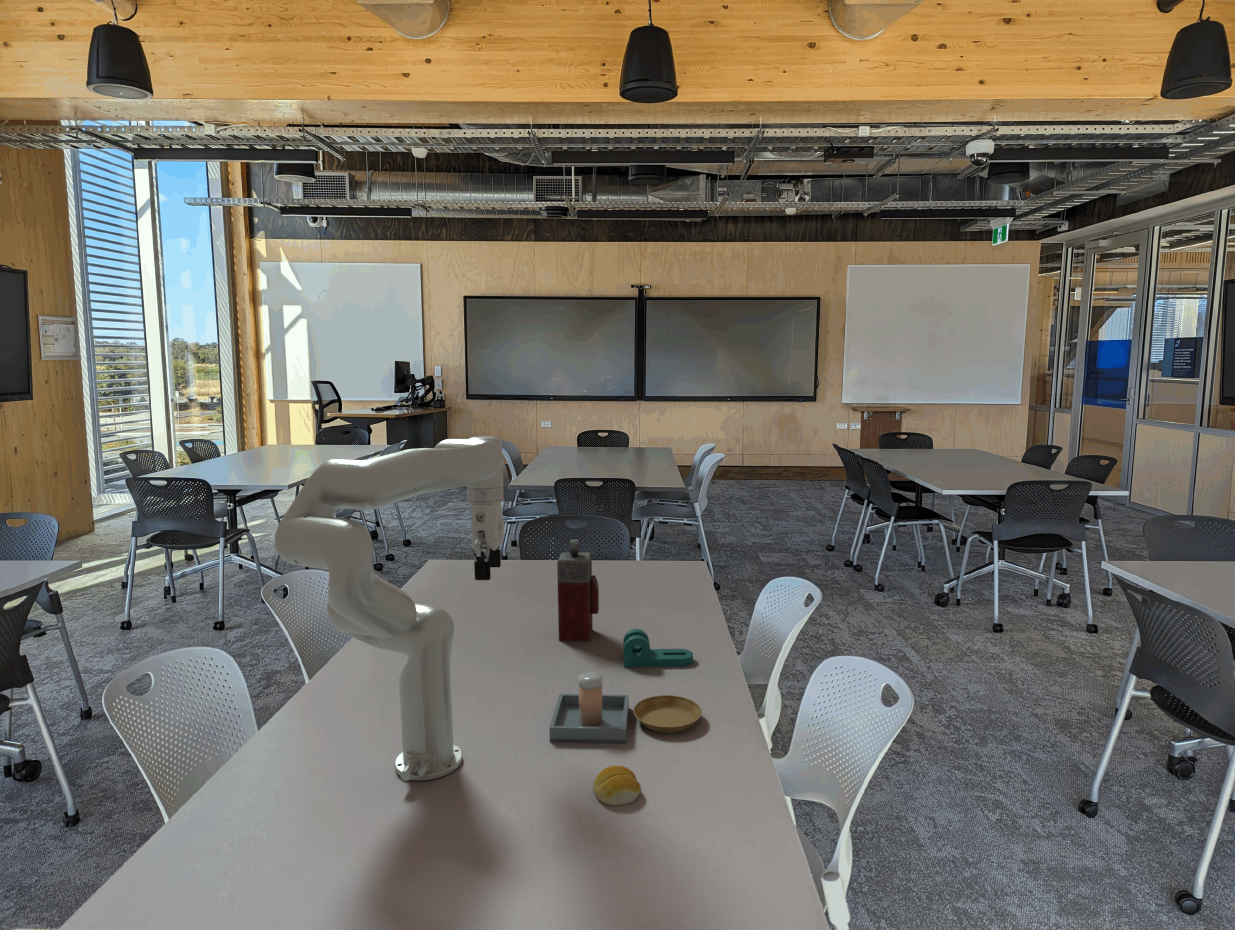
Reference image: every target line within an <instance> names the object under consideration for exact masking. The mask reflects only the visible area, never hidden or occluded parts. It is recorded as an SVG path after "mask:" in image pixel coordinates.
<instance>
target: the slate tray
mask: <svg viewBox="0 0 1235 930" xmlns="http://www.w3.org/2000/svg"><path fill="white" fill-rule="evenodd" d="M629 695H630V694H603V693H602V718H603V722H602V724H600V725H599V726H596V727H587V726H582V725H581V724H580V723H579V693H559V694H558V698H557V701H556V704H555V708H554V710H553V711H554V712H553V714H552V718H551V722H550V724H549V727H548V728H549V733H548V734H549V742H555V743H558V742H559V743H560V742H561V743H562V742H563V743H603V744H604V743H605V744H606V743H607V744H617V743H618V744H626V743H627V733H628V722H629V711H630V710H629V709H630V707H629V706H630V702H629V701H630V700H629V699H630V698H629V697H630V696H629Z"/></svg>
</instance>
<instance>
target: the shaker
mask: <svg viewBox="0 0 1235 930" xmlns="http://www.w3.org/2000/svg"><path fill="white" fill-rule="evenodd" d="M577 679H578V680H577V681H578V682H577V684H578V685H577V686H578V694H579V723H580V724H581V725H582V726H587V727H596V726H599V725H600V724H602V722H603V718H602V694H603V675H602V674H601V673H598V672H596V671H586V672H584V673H580V674H578V677H577Z"/></svg>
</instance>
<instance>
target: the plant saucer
mask: <svg viewBox="0 0 1235 930" xmlns="http://www.w3.org/2000/svg"><path fill="white" fill-rule="evenodd" d="M633 714H634V717H636V719H637V721H638V722H640V724H642V725H643V726H645V728H647V729H649V730H651V731H654V732H657V733H664V734H675V733H679V732H684V731H685V730H688V729H690V727H692V726H693V725H695V723H696V722H697V721H699V719H700V718H701V716H702V708H701V707H700V705H699V704H698V703H697V702H695V701H693V700H692V699H689V698H686V697H684V696H683V697H682V696H679V695H671V694H668V695H667V694H663V695H662V694H661V695H653V696H650V697H647V698H644V699H641V700H640V701H637V703H636V704H635V705H634V707H633Z"/></svg>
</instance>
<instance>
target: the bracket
mask: <svg viewBox="0 0 1235 930" xmlns="http://www.w3.org/2000/svg"><path fill="white" fill-rule="evenodd" d="M622 643H623V644H622V645H623V648H622V651H623V652H622V653H623V668H667V667H668V668H669V667H675V668H677V667H682V668H683V667H688V666H691V665H693V663H694V653H693V652H692V651H691V650H689V649H687V648H651V644H650V638H649V636H648V634H647V633H646V632H645V631H644V630H643V629H639V628H633V629H630V630H628V631H627V632H626V633H625V635H624V636H623V641H622Z"/></svg>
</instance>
